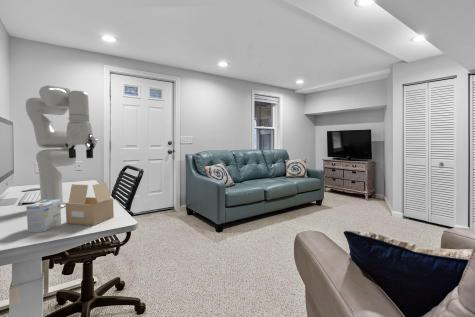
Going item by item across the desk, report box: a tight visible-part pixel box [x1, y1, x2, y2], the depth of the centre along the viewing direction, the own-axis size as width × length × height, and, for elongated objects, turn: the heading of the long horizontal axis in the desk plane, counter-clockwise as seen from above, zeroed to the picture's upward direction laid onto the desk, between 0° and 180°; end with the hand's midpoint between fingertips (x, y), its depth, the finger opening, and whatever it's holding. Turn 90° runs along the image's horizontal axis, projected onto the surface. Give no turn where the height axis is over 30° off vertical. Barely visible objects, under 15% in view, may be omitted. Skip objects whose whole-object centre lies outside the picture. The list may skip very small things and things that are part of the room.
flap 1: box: [68, 183, 89, 204], centre depth 105 cm, size 8×8×1 cm
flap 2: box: [92, 181, 111, 203], centre depth 108 cm, size 8×8×1 cm
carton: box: [65, 196, 115, 226], centre depth 110 cm, size 14×13×9 cm
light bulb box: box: [25, 199, 62, 233], centre depth 100 cm, size 11×7×11 cm, turn 5°
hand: (81, 158), depth 109 cm, fingers open, 8 cm apart
